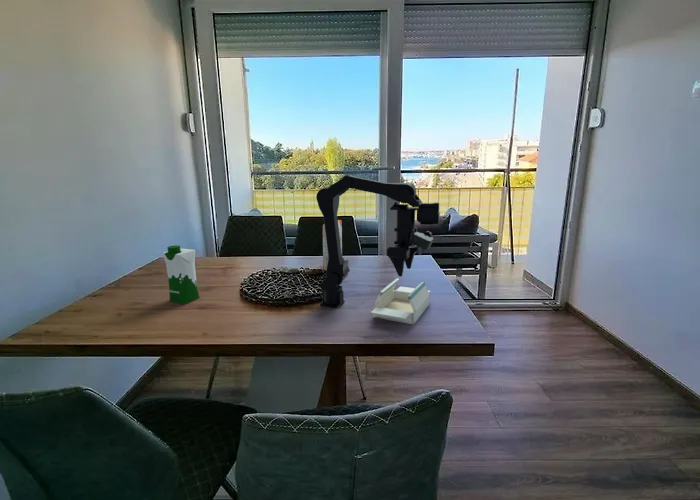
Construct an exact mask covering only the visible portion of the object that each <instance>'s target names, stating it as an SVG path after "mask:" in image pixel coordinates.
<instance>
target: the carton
mask: <svg viewBox="0 0 700 500" xmlns="http://www.w3.org/2000/svg"><path fill="white" fill-rule="evenodd" d="M415 288H416V287H415ZM415 288H414V287H408V286H399V287H398V288H397V289H394V290H393V292H391V293H390V294H389V295H388V296H387V297H385V298H384V299H383V300H382V301H381V302H380V303H378V304H377V305H375V304H374V306H373V310H372V311H371V312H370V314H372V315H373V318H375V319H382V320H386V321H392V322H398V323H402V324H403V323H404V324H408V325H415V323H417V321H418V320H419V319H420V317H421V316H422V315H423V313H424V312H425V311H426V310H427V309H428V307H429V306H430V302H431V300H430V298H431V297H430V296H431V295H430V296H429V297H428V298H427V299H426V300H425V301H424V302H423V304H422V305H421V306H420V307H419V308H418V309H417V310H416V311H413V309H412V306H411V304H410V302H409V300H408V297H407V296H408V295H409V294H410V293H411V292H412V291H413V290H414V289H415ZM427 290H428V289H427ZM428 292H429V294H430V293H431V290H428Z"/></svg>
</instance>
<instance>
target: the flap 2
mask: <svg viewBox="0 0 700 500" xmlns="http://www.w3.org/2000/svg"><path fill="white" fill-rule="evenodd" d="M429 296H431V295H430V293H429V292H428V287H427V284H426V283H425V281H422V282H420V283H419V284H418V285H417V286H416V287H415V289H414V290H413V291H412V292H411V293H410V294H409V295H408V296H407V297H408V300H409V302H410V304H411V306H412V309H413V311H416V310H417V309H418V308H419V307H420V306H421V305H422V304H423V302H424V301H425V300H426V299H427V298H428V297H429Z"/></svg>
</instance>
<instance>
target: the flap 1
mask: <svg viewBox="0 0 700 500" xmlns="http://www.w3.org/2000/svg"><path fill="white" fill-rule="evenodd" d="M399 281H400V279H399V278H398V277H397V278H395V279H394V280H392V282H390V283H388V285H386V286H385V287H384V288H383V289H381V290H380V291H379V293H378V296H377V297H376V300H375V301H374V306H375V305H377V304H378V303H380V302H381V301H382V300H383V299H384V298H385V297H387V296H388V295H389V294H390V293H391V292H393V290H395V288H396V287H397V284H398V282H399Z"/></svg>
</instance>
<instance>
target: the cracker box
mask: <svg viewBox="0 0 700 500" xmlns="http://www.w3.org/2000/svg"><path fill="white" fill-rule="evenodd" d="M342 222H343V221H342V220H341V219H338V227H339V236H340V244H341V253H342V254H343V241H342V240H343V238H342V237H343V235H342V234H343V227H342V226H343V225H342V224H343V223H342ZM328 259H329V257H328V249H327V240H326V232H325V224H324V223H323V225H322V263H323V264H322V266H323V268H322V269H323V270H325V272H327V264H328Z"/></svg>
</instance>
